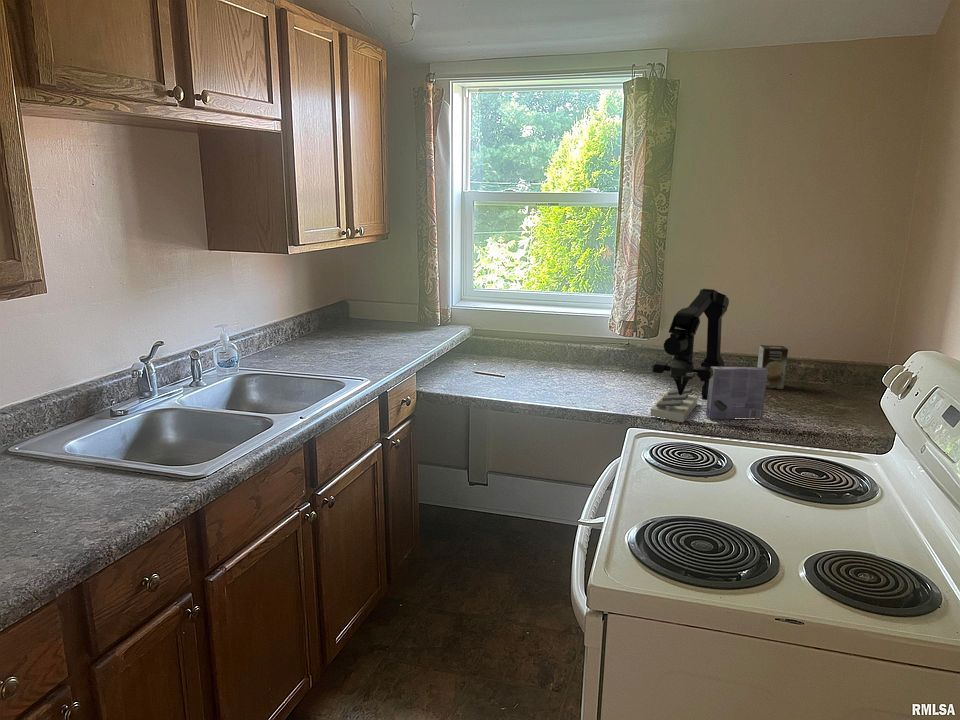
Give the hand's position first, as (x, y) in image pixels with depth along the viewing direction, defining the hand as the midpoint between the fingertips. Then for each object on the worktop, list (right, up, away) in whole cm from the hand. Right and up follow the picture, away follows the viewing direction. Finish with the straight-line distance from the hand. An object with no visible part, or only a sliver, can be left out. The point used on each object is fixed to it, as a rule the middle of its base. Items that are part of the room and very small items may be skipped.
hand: (680, 394), depth 231 cm
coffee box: (+47, +1, +40) cm, 62 cm away
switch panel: (+1, -6, +10) cm, 12 cm away
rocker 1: (+5, 0, +16) cm, 17 cm away
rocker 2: (+1, -2, +9) cm, 9 cm away
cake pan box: (+19, -8, +3) cm, 21 cm away
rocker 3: (-3, -4, +2) cm, 5 cm away
